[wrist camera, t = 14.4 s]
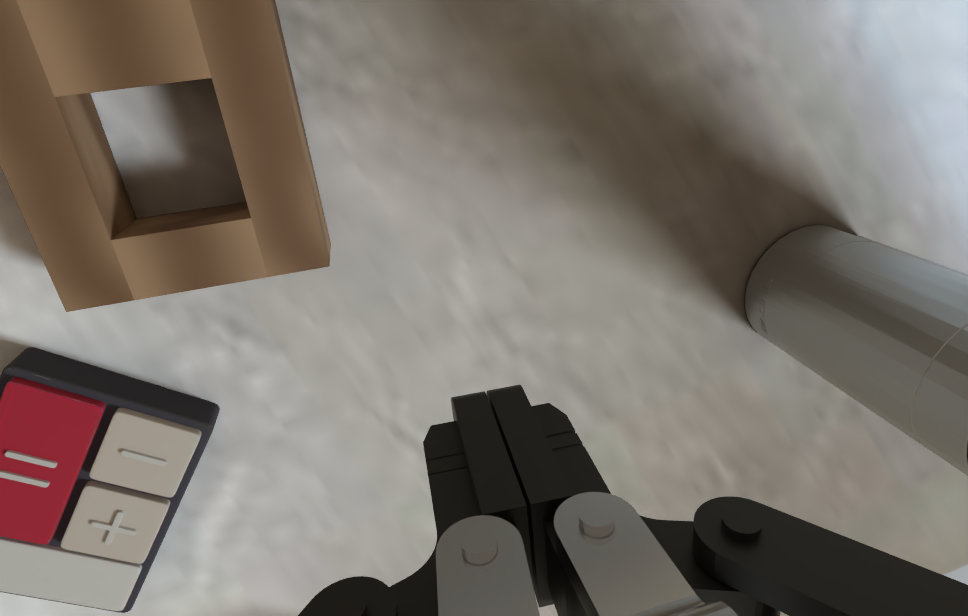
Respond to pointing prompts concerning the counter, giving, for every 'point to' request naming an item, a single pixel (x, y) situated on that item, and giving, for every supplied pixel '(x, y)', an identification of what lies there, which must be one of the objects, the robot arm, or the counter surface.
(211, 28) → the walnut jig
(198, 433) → the calculator
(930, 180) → the counter surface
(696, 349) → the counter surface
